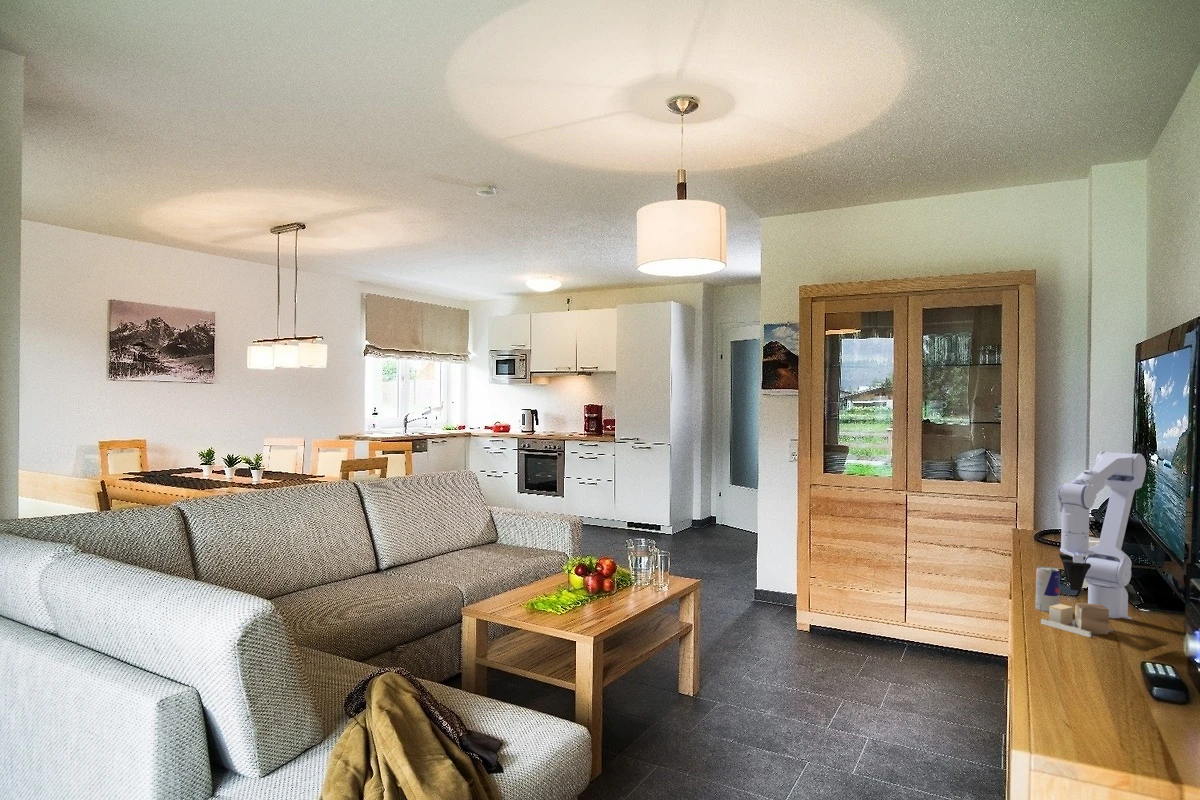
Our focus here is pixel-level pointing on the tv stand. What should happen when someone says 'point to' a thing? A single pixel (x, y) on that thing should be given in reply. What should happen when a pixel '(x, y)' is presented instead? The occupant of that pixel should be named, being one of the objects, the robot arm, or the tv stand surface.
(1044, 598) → the energy drink
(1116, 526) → the robot arm
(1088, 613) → the brown thick square block
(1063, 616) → the beige rectangular block
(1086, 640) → the tv stand surface
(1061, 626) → the shelf board
